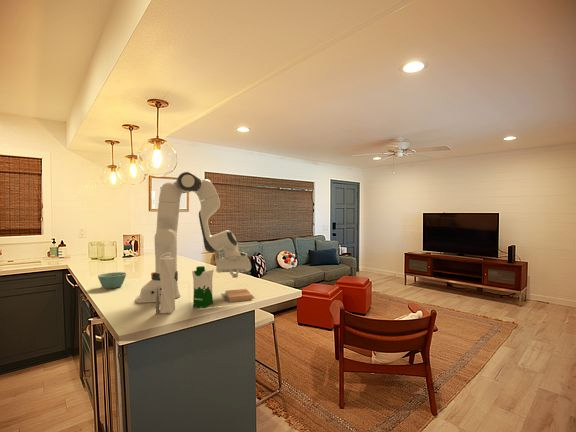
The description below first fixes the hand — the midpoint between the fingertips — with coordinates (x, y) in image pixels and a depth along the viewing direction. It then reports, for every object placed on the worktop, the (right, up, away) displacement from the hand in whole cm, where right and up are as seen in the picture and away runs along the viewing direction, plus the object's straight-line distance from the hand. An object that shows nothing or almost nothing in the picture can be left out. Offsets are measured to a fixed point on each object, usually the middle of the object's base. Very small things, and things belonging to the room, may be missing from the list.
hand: (235, 277), depth 171 cm
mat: (+2, -10, -4) cm, 11 cm away
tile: (0, -8, 0) cm, 8 cm away
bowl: (-81, -11, +19) cm, 84 cm away
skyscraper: (-28, -11, -28) cm, 41 cm away
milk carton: (-13, -11, -19) cm, 25 cm away
